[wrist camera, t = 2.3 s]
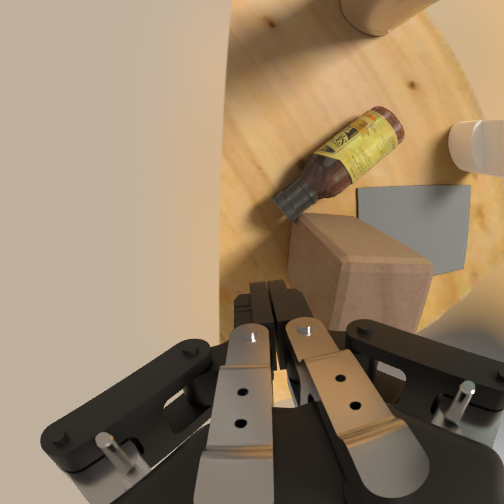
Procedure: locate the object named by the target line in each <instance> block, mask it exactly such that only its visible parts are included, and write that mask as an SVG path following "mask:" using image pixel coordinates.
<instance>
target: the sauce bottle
mask: <svg viewBox="0 0 504 504" xmlns="http://www.w3.org/2000/svg"><path fill="white" fill-rule="evenodd" d="M403 139H404V130H403V126H402V125H401V123H400V121H399V120H398V119H397V117H396V116H395V115H394V114H393V113H392V112H391V111H389V110H388V109H386V108H384V107H380V106H377V107H374V108H372V109H371V110H369V111H367V112H365V113H364V114H363V115H362V116H360V117H359V118H358V119H356V120H355V121H354V122H352V123H351V124H350V125H348V126H347V127H346V128H344V129H343V130H342V131H341V132H339V133H338V134H336V135H335V136H334V137H333V138H331V139H330V140H329V141H328V142H326V143H325V144H324V145H323V146H321V147H320V148H319V149H318V150H316V151H315V152H314V153H313V154H312V155H311V157H310V159H309V160H308V162H307V163H306V165H305V167H304V168H303V170H302V172H301V173H300V175H299V176H298V178H297V179H295V180H294V182H292V183H291V184H290V185H289V186H288V187H286V188H285V189H284V190H283V191H281V192H278V193H277V194H276V195H275V196H274V197H273V198H272V200H273V201H274V202H275V204H276V205H277V206H278V207H279V208H280V210H281V211H282V212H283V213H284V215H285V216H286V217H287V218H288V219H289V220H290V221H291V222H293V221H294V220H295V219H297V218H298V217H299V216H300V215H301V213H302V212H303V211H304V210H305V209H307V208H308V207H309V206H310V205H311V204H314V203H315V202H316V200H317V199H322V198H330V197H334V196H336V195H337V194H339V193H341V192H342V191H343V190H344V189H345V188H347V186H349V185H350V184H353V183H354V182H355V181H356V180H358V179H359V178H360V177H361V176H362V175H364V174H365V173H366V172H367V171H368V170H370V169H371V168H372V167H373V166H374V165H376V164H377V163H378V162H379V161H380V160H382V159H383V158H384V157H385V156H386V155H388V154H389V153H390V152H391V151H392V150H394V149H395V148H396V147H397V145H398V144H399V143H401V142H402V140H403Z"/></svg>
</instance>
